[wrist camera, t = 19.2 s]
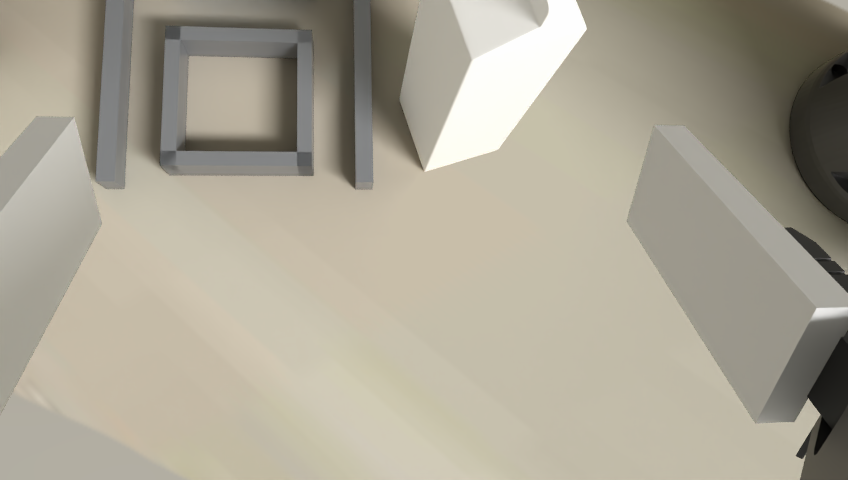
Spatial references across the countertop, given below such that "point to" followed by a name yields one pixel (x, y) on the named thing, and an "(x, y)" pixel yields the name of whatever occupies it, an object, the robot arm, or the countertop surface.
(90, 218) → the robot arm
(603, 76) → the countertop surface
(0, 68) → the countertop surface
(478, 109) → the milk
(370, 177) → the grey railed frame
